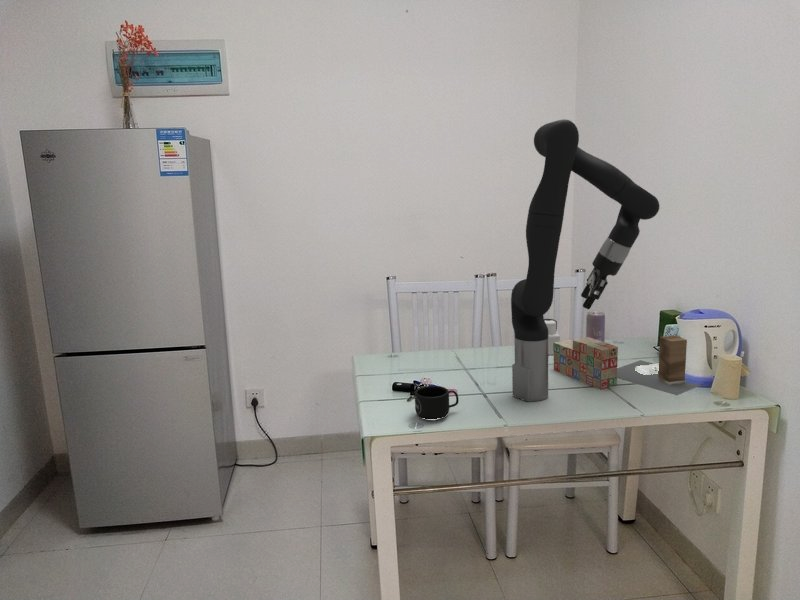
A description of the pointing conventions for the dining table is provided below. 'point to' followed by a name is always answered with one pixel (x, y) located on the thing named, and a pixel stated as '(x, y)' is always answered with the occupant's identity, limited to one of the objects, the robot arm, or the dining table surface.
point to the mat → (651, 379)
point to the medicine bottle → (552, 334)
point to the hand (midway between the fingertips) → (584, 302)
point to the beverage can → (595, 325)
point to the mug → (433, 402)
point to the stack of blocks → (587, 361)
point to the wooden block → (672, 359)
